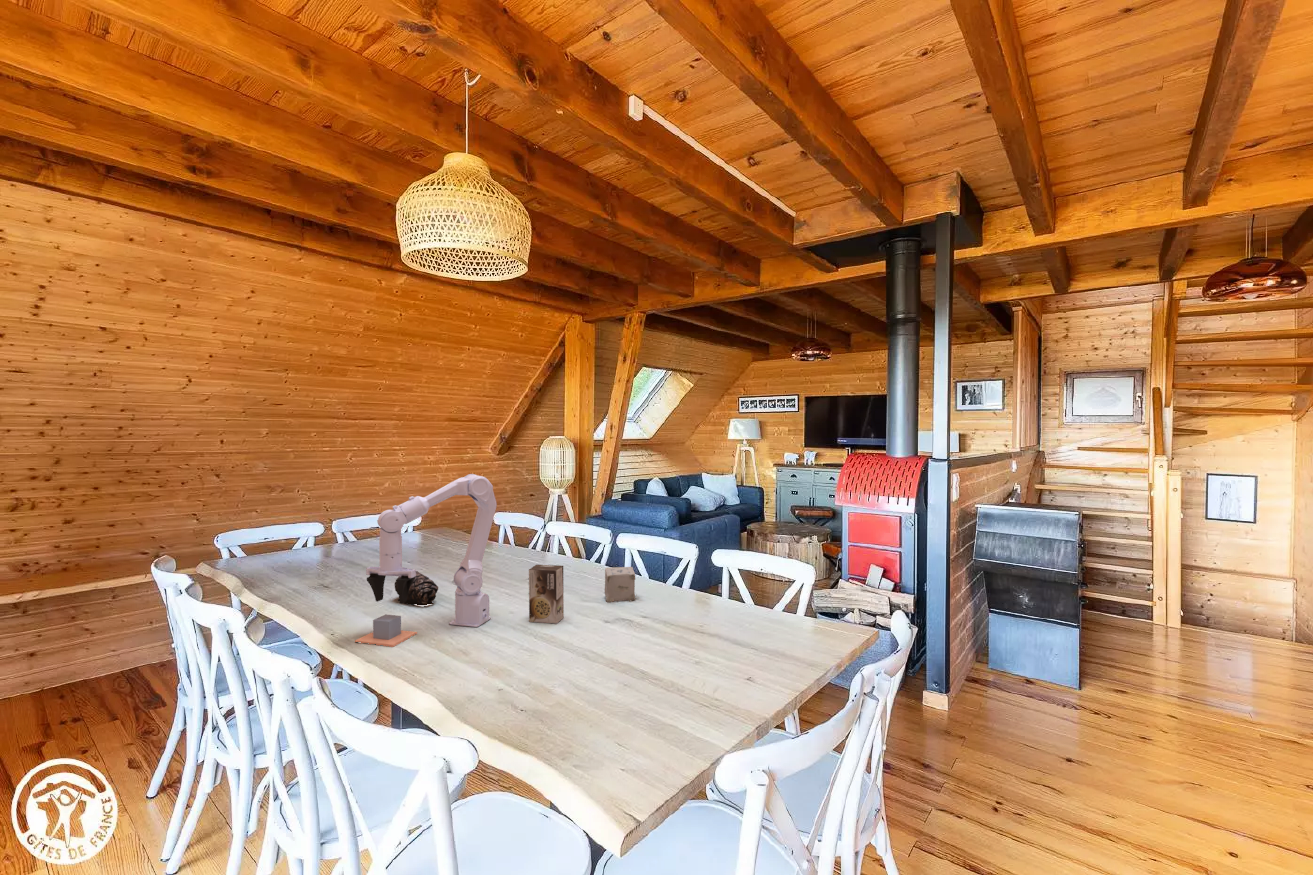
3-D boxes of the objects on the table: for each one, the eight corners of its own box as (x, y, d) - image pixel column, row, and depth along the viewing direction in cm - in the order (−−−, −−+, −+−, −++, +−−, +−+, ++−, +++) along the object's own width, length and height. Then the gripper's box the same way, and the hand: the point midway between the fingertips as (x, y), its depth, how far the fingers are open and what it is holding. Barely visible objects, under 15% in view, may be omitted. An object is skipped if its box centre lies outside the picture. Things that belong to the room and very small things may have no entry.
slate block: (401, 633, 164) (401, 615, 164) (388, 639, 159) (388, 621, 159) (385, 631, 165) (385, 614, 165) (373, 638, 160) (373, 620, 160)
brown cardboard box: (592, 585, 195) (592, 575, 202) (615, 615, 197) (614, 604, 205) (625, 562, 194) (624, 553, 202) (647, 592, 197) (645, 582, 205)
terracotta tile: (417, 634, 165) (417, 631, 165) (393, 647, 155) (393, 644, 155) (380, 630, 168) (380, 628, 168) (354, 642, 158) (354, 640, 158)
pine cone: (424, 610, 187) (424, 578, 187) (387, 601, 195) (387, 571, 195) (450, 601, 196) (450, 571, 196) (413, 594, 205) (413, 565, 204)
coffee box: (564, 617, 180) (564, 565, 180) (556, 624, 174) (556, 570, 174) (536, 615, 182) (536, 563, 182) (528, 622, 176) (528, 568, 176)
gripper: (358, 554, 162) (358, 603, 162) (404, 557, 158) (404, 607, 158) (376, 549, 168) (376, 596, 169) (420, 552, 165) (420, 600, 165)
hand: (391, 601), depth 164 cm, fingers open, 7 cm apart
